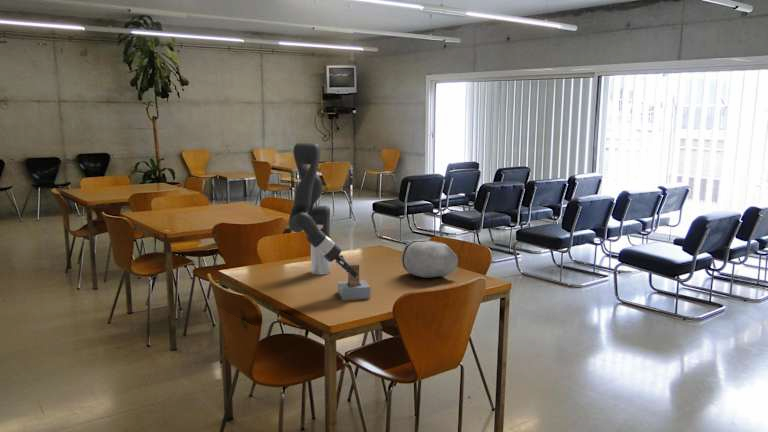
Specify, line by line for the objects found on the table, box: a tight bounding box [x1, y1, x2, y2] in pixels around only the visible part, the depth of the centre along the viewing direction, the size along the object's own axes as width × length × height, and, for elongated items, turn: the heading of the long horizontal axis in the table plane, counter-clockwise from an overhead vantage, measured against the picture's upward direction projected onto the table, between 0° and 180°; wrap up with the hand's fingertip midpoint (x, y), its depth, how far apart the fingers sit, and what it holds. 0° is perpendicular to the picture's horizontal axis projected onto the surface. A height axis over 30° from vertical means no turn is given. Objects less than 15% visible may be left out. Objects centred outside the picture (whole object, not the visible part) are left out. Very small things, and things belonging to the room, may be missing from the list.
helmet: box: [401, 239, 459, 279], centre depth 295 cm, size 18×25×30 cm
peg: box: [347, 262, 360, 286], centre depth 261 cm, size 4×4×14 cm
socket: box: [337, 279, 371, 301], centre depth 262 cm, size 12×12×5 cm
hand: (354, 273), depth 261 cm, fingers open, 8 cm apart
